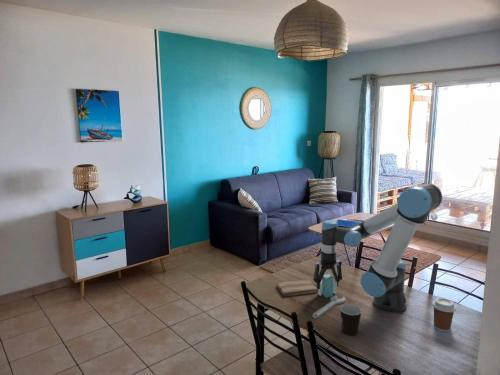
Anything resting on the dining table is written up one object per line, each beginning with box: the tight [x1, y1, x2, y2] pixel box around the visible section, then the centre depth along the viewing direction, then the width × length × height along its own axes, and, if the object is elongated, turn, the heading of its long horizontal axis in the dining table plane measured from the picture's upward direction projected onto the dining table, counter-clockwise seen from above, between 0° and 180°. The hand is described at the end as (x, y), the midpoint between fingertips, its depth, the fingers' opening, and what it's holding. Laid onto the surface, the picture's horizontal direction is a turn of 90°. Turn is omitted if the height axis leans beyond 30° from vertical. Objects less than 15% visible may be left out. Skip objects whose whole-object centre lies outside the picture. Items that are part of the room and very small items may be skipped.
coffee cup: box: [431, 297, 457, 332], centre depth 156 cm, size 9×9×12 cm
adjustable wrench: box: [311, 294, 346, 319], centre depth 175 cm, size 25×6×2 cm, turn 132°
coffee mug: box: [339, 304, 363, 337], centre depth 155 cm, size 12×9×10 cm
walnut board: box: [276, 278, 318, 297], centre depth 193 cm, size 12×18×2 cm, turn 104°
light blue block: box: [321, 273, 335, 298], centre depth 189 cm, size 11×4×10 cm, turn 14°
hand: (327, 293), depth 187 cm, fingers open, 8 cm apart
